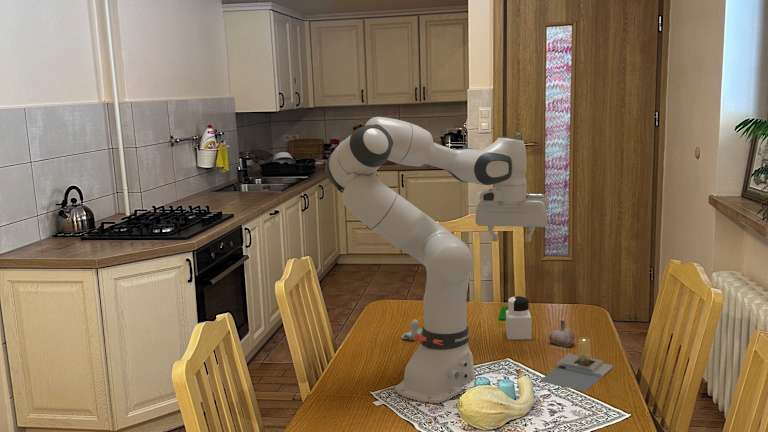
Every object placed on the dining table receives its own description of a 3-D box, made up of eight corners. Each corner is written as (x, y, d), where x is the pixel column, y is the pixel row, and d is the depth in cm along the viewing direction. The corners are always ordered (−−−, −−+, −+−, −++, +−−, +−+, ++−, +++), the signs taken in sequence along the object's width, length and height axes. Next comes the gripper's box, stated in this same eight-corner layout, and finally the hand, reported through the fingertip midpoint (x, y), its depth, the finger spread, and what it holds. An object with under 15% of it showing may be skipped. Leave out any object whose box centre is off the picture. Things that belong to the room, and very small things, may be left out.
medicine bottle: (529, 332, 220) (529, 294, 218) (531, 339, 213) (531, 301, 211) (505, 332, 221) (505, 294, 219) (507, 339, 214) (507, 301, 212)
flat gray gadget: (601, 377, 180) (601, 371, 180) (557, 367, 187) (557, 361, 187) (611, 368, 186) (612, 362, 185) (568, 359, 193) (568, 353, 193)
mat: (584, 397, 172) (584, 391, 172) (539, 386, 180) (539, 380, 179) (615, 370, 188) (615, 365, 187) (572, 361, 195) (572, 356, 195)
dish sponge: (523, 313, 240) (523, 306, 239) (520, 326, 227) (520, 319, 226) (501, 312, 242) (501, 305, 241) (498, 325, 228) (498, 318, 228)
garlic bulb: (573, 350, 204) (573, 323, 202) (547, 348, 206) (547, 321, 205) (575, 341, 211) (575, 315, 209) (550, 339, 213) (550, 313, 212)
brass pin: (588, 370, 184) (588, 341, 183) (576, 369, 186) (577, 339, 184) (591, 366, 187) (591, 337, 186) (579, 365, 188) (579, 336, 187)
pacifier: (397, 339, 219) (410, 343, 214) (396, 319, 218) (409, 323, 213) (414, 333, 224) (427, 337, 219) (413, 314, 223) (426, 317, 218)
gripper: (549, 192, 202) (549, 240, 204) (477, 192, 208) (478, 238, 210) (547, 195, 196) (547, 244, 198) (473, 195, 202) (474, 242, 204)
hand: (511, 241), depth 204 cm, fingers open, 8 cm apart
